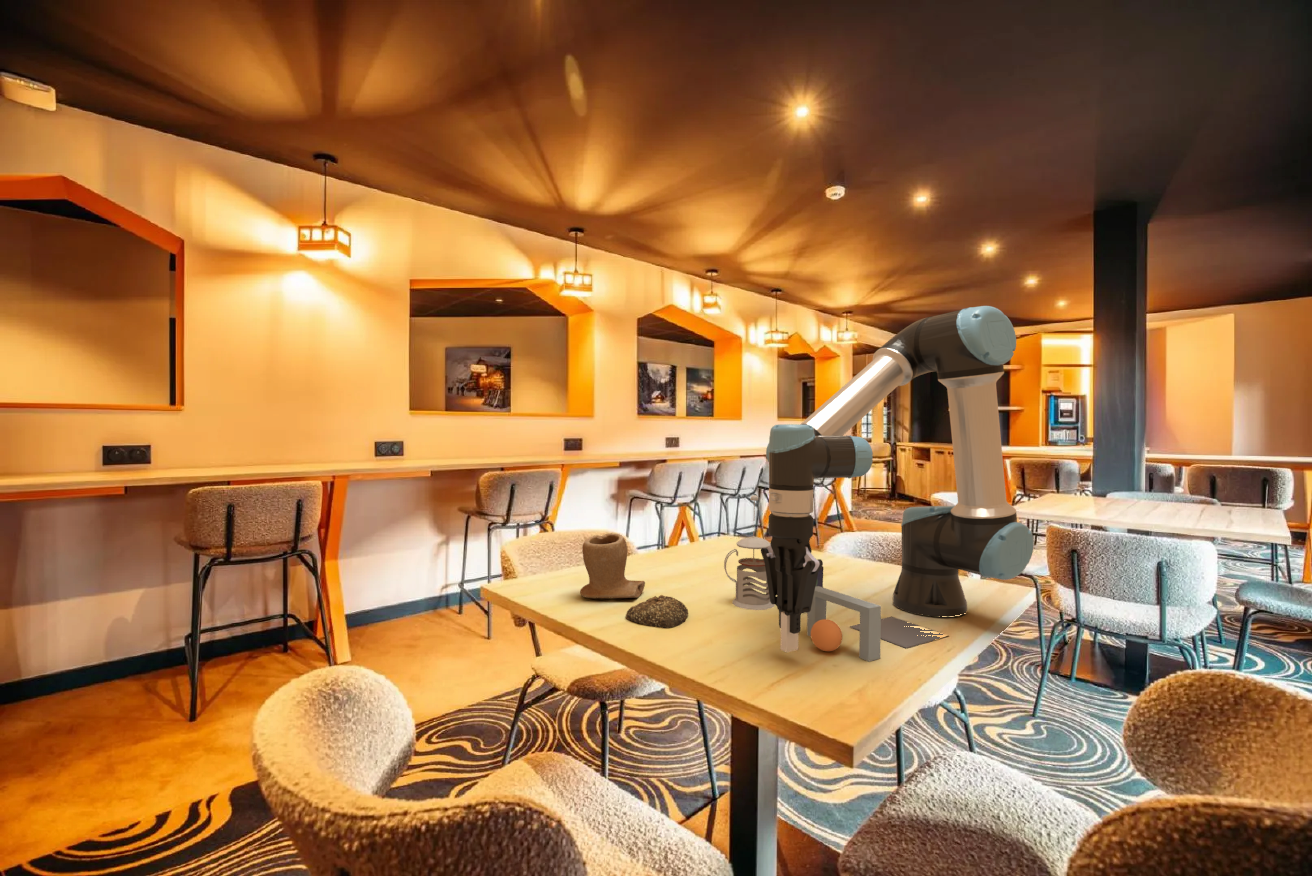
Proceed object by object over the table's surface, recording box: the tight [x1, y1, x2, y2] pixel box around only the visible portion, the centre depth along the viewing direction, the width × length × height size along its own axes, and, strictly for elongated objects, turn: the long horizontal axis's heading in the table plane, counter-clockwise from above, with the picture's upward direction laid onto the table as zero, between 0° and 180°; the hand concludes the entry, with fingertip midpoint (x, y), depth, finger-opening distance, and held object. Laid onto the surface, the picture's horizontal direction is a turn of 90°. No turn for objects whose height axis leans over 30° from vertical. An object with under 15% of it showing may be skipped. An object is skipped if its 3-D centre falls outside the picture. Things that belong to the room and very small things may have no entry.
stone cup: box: [579, 532, 646, 599], centre depth 134 cm, size 15×12×15 cm
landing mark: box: [849, 616, 944, 649], centre depth 113 cm, size 13×13×1 cm
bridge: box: [806, 586, 882, 662], centre depth 105 cm, size 3×14×9 cm, turn 30°
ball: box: [810, 618, 843, 652], centre depth 103 cm, size 6×6×6 cm
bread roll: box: [625, 594, 689, 629], centre depth 120 cm, size 13×12×5 cm
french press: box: [723, 494, 776, 611], centre depth 131 cm, size 10×12×25 cm
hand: (789, 649), depth 98 cm, fingers closed
